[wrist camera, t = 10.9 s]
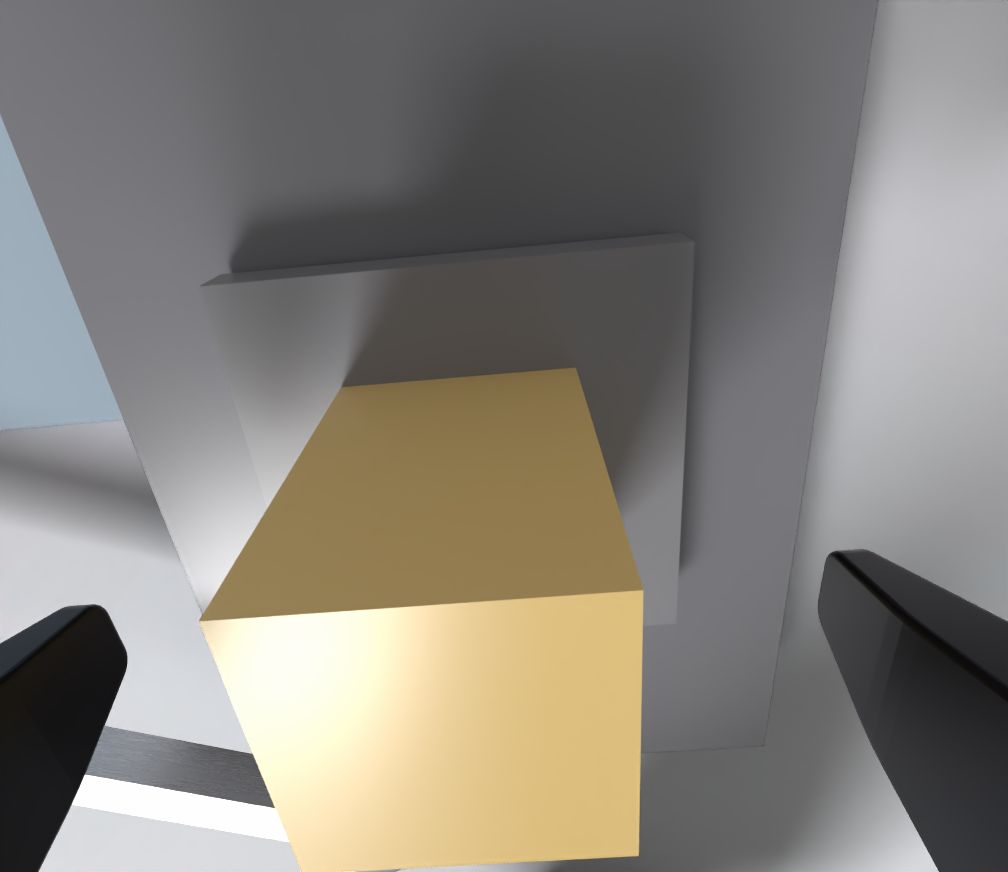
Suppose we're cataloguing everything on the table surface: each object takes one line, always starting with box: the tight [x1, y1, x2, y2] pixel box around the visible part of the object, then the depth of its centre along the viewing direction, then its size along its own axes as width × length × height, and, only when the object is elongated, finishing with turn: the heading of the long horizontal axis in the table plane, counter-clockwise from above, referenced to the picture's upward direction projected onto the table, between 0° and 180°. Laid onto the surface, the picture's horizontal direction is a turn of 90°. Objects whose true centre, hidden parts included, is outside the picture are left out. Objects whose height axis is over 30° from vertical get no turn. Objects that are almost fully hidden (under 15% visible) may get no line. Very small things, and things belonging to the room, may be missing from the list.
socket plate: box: [0, 0, 878, 753], centre depth 12 cm, size 17×12×2 cm
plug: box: [198, 232, 695, 872], centre depth 9 cm, size 7×7×8 cm
